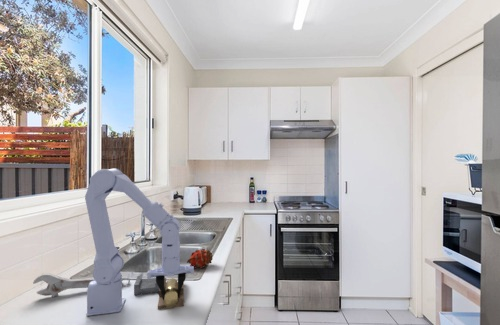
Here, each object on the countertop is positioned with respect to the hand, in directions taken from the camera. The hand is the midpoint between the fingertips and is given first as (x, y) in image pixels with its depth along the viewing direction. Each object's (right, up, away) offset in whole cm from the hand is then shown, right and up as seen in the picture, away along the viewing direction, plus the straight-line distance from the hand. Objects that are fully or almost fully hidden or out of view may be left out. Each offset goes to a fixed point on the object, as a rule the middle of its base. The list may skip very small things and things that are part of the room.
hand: (171, 297), depth 89 cm
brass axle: (0, +1, +1) cm, 2 cm away
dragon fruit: (+4, -2, +30) cm, 30 cm away
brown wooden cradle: (-1, -2, +6) cm, 6 cm away
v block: (-11, -2, +10) cm, 15 cm away
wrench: (-34, -2, +8) cm, 35 cm away
